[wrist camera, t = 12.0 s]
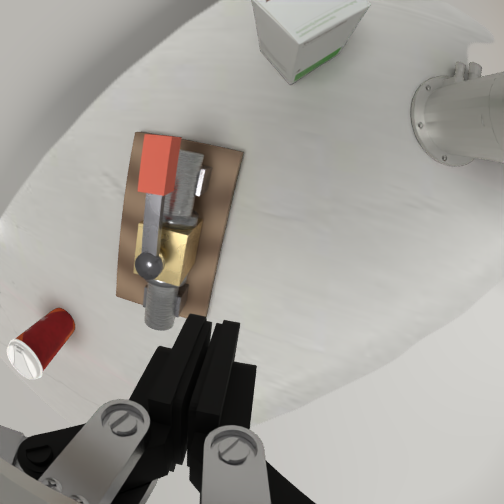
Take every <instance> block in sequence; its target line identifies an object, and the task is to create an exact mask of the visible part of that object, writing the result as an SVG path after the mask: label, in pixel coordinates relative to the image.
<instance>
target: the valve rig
mask: <svg viewBox="0 0 504 504" xmlns="http://www.w3.org/2000/svg"><path fill="white" fill-rule="evenodd" d="M145 134H150V133H144V132H135V136H134V141H133V147H132V152H131V158H130V164H129V170H128V176H127V183H126V190H125V197H124V205H123V213H122V222H121V231H120V242H119V254H118V268H117V287H116V296H117V297H120V298H123V299H126V300H129V301H132V302H135V303H138V304H141V305H143V307H145V323H146V325H147V326H149V327H150V328H152V329H155V330H168V329H170V328H172V327H173V325H174V319H175V317H179V316H181V317H184V318H187V317H188V315H189V314H190V313H191V314H196V315H201V316H207V312H208V307H209V302H210V297H211V292H212V288H213V283H214V278H215V274H216V269H217V265H218V260H219V255H220V251H221V246H222V242H223V237H224V233H225V229H226V224H227V220H228V215H229V211H230V207H231V202H232V198H233V194H234V190H235V186H236V181H237V177H238V173H239V169H240V165H241V161H242V157H243V153H244V152H241V151H236V150H232V149H227V148H223V147H218V146H214V145H209V144H204V143H199V142H194V141H189V140H184V139H181V144H180V151H179V157H178V164H177V171H176V178H175V186H174V191H173V192H171V193H169V194H167V195H165V203H164V212H163V222H162V233H161V244H160V253H161V254H162V255H163V257H164V259H165V267H164V269H163V271H162V272H161V273H160V274H159V275H158V277H156V278H155V279H152V280H147V279H144V278H142V277H141V276H140V275H139V274H138V273H137V271H136V269H135V260H136V258H137V257H138V256H139V255H140V254H141V251H142V235H143V222H144V210H145V199H146V193H143V192H138V182H139V173H140V164H141V156H142V149H143V142H144V135H145ZM155 135H156V134H155Z"/></svg>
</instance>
